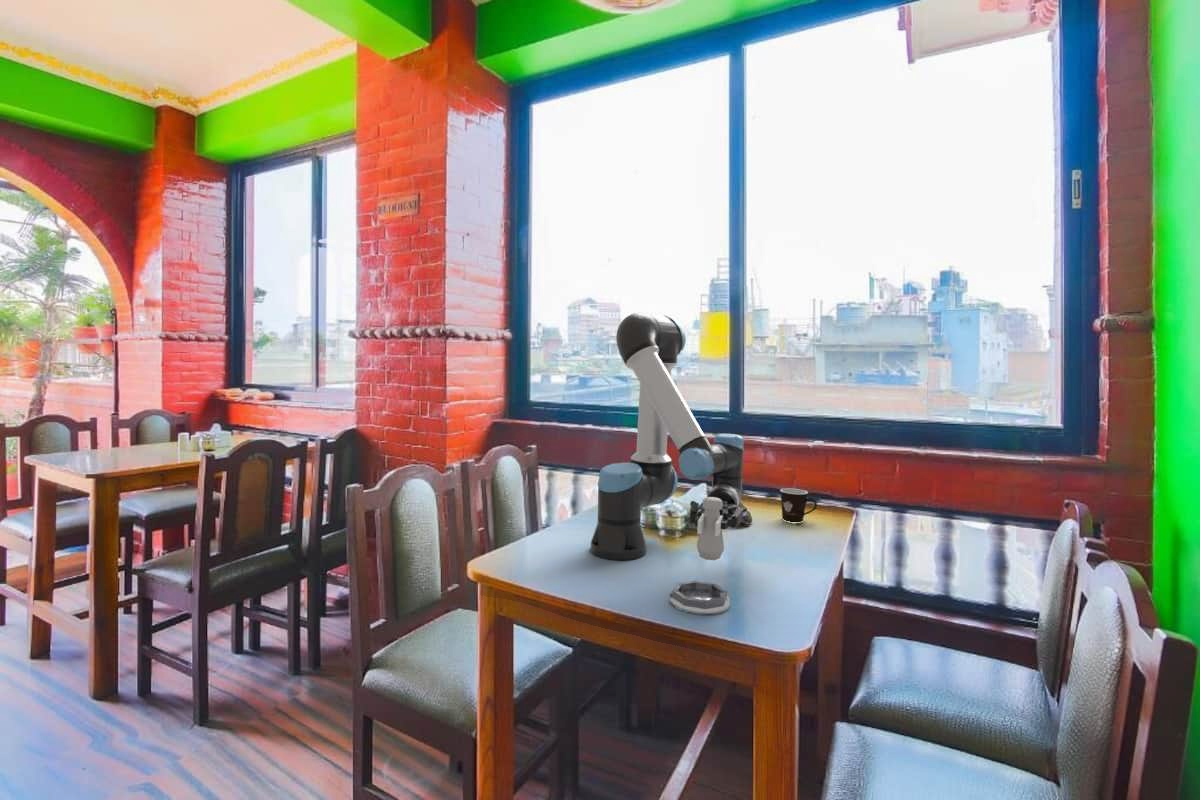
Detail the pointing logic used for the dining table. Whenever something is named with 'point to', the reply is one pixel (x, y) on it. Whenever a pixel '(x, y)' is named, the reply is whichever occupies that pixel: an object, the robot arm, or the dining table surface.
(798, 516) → the coffee mug
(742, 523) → the fossil
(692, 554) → the dining table surface
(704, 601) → the steel collar
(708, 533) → the salt shaker
